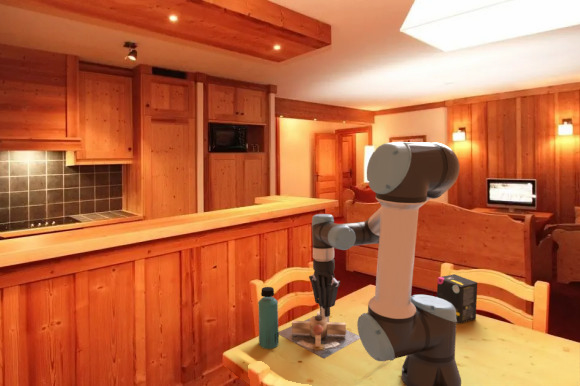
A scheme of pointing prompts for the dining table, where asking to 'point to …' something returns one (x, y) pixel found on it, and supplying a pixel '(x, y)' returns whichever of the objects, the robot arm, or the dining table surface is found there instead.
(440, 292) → the tampon box
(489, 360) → the dining table surface
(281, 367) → the dining table surface
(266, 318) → the beverage bottle
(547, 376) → the dining table surface
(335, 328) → the capstan
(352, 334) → the stand
